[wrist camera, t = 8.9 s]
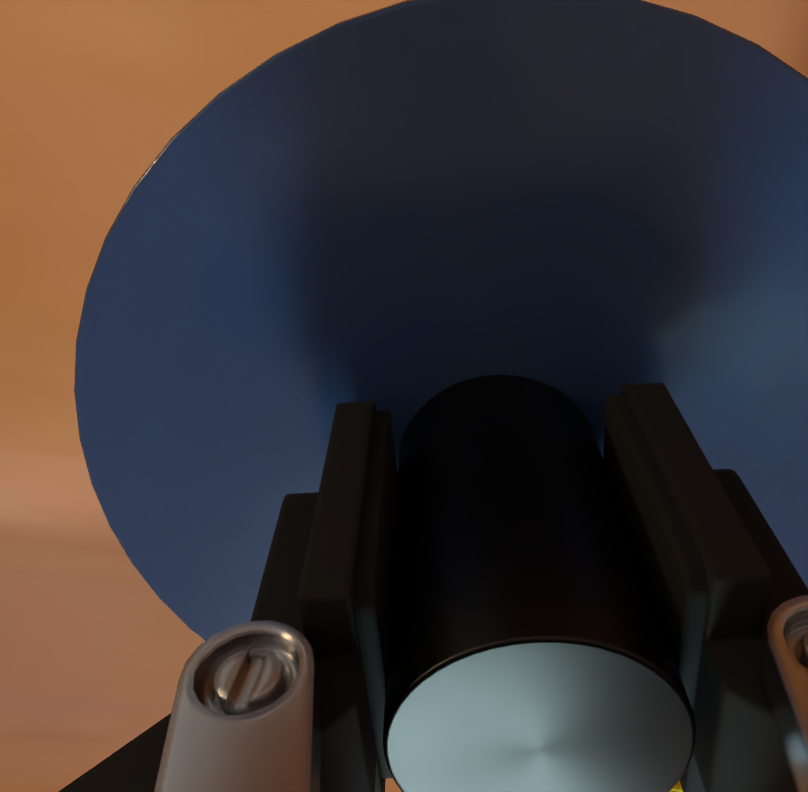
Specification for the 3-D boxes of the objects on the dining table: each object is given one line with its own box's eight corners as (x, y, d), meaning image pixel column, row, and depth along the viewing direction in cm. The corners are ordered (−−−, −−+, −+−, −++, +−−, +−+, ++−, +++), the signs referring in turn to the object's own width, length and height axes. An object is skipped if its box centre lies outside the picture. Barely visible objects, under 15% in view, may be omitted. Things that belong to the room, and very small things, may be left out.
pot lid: (-35, 456, 13) (-342, 781, 8) (463, -289, 8) (529, -727, 3) (505, 772, 17) (540, 1136, 12) (1067, 387, 12) (1563, 715, 7)
